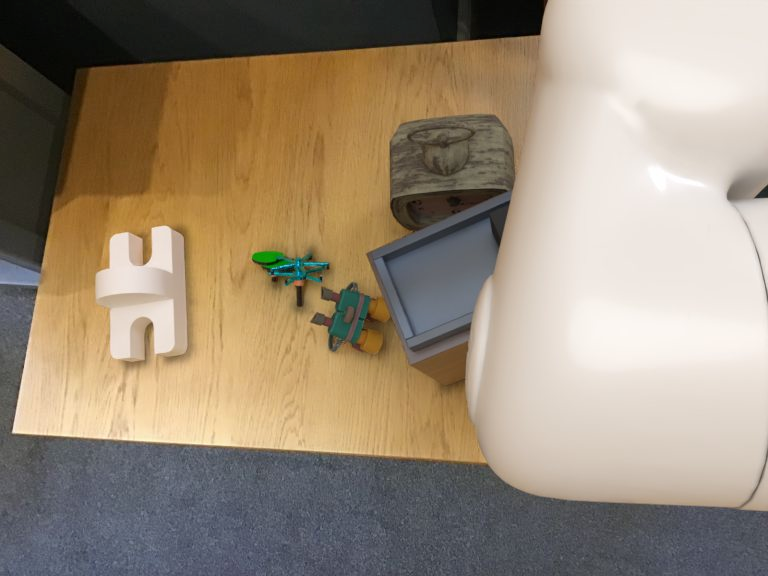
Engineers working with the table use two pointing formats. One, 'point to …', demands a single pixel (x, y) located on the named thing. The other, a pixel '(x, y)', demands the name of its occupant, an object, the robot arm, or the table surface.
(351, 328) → the binoculars
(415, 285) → the brown and grey box
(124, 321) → the white slotted bracket
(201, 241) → the table surface
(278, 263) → the stick construction toy
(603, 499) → the robot arm
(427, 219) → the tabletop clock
